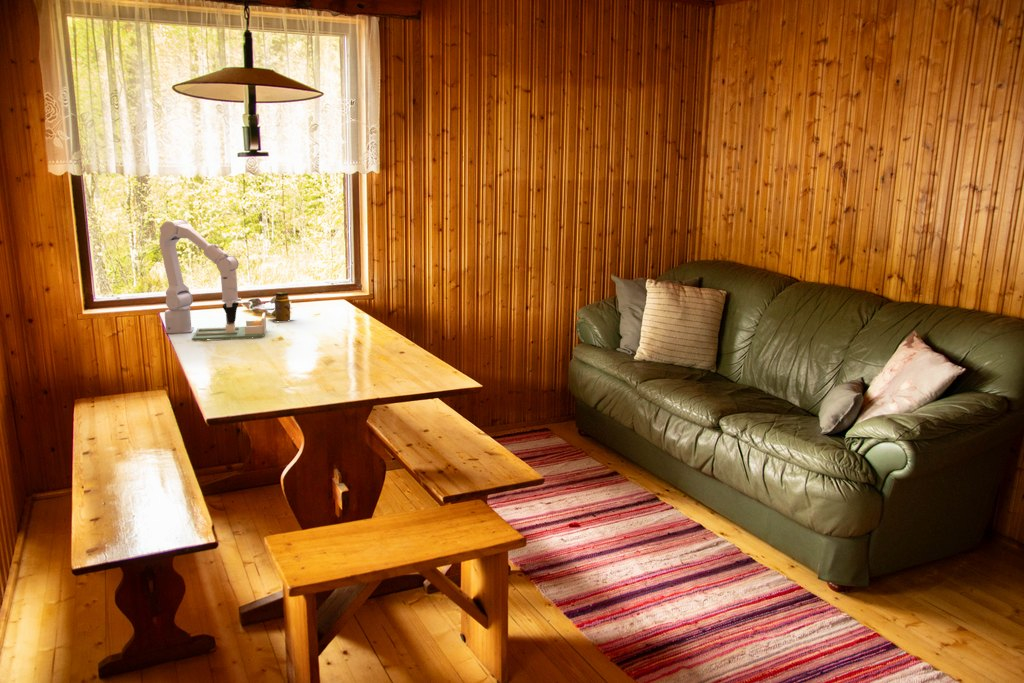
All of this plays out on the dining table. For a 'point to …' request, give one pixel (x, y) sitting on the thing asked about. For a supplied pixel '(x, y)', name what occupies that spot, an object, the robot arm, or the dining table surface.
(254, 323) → the ball
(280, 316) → the condiment
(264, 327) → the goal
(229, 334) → the pitch
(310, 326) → the dining table surface
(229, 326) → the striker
